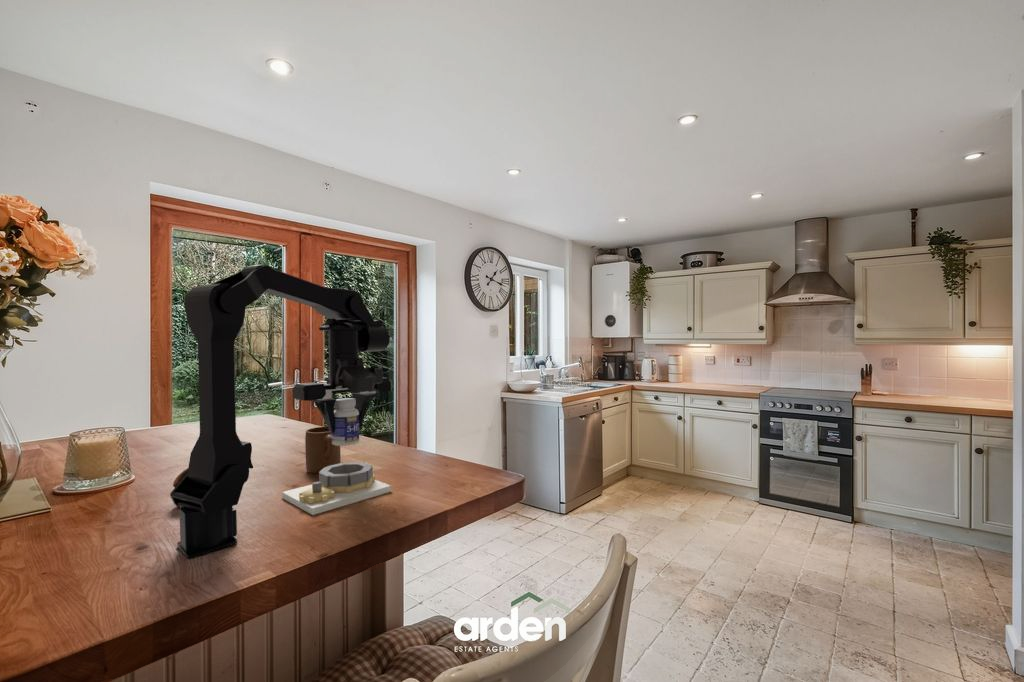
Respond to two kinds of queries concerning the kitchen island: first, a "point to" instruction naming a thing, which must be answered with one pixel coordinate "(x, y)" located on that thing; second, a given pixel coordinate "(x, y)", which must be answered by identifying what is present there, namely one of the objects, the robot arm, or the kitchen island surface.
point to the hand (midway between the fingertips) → (345, 430)
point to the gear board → (337, 488)
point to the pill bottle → (346, 422)
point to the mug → (320, 449)
